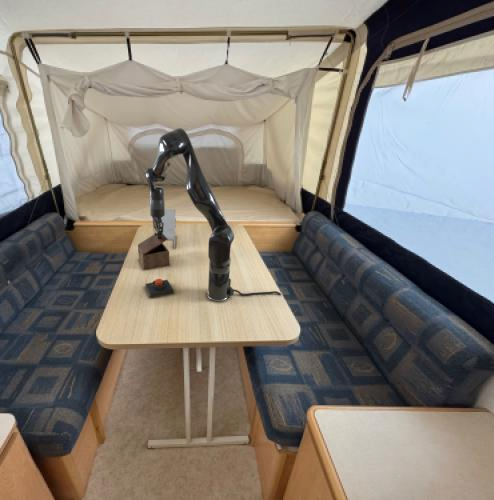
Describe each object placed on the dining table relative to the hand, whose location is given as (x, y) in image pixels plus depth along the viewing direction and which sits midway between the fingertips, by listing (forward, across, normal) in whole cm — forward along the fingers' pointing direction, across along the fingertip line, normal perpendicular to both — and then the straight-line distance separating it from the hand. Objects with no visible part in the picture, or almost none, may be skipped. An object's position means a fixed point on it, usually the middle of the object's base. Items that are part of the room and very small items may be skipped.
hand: (158, 236), depth 146 cm
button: (+12, -28, +8) cm, 32 cm away
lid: (+3, 0, +3) cm, 5 cm away
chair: (+16, +26, -12) cm, 33 cm away
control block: (+16, -28, +8) cm, 33 cm away
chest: (+16, 0, +3) cm, 16 cm away
